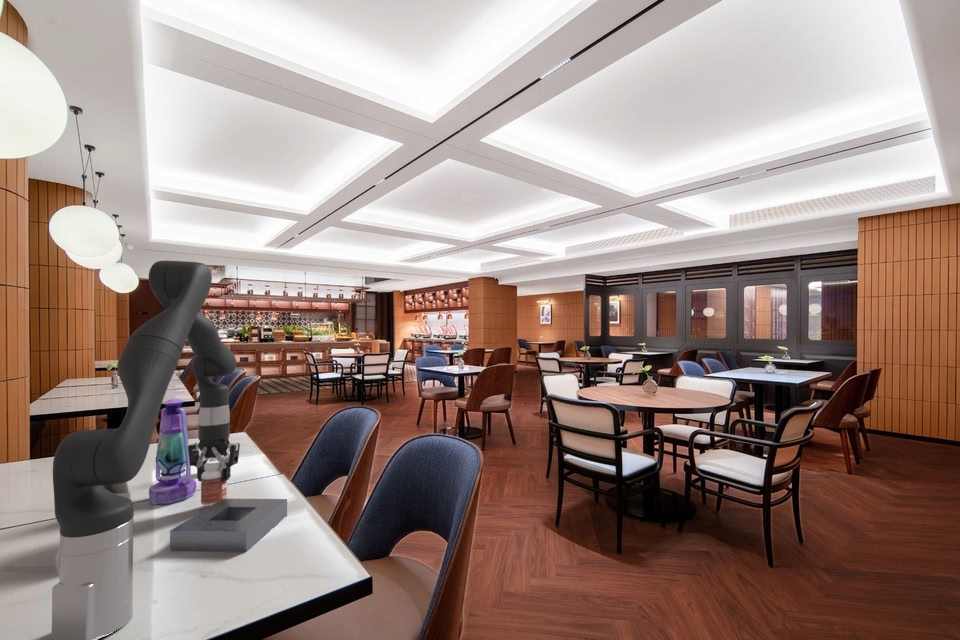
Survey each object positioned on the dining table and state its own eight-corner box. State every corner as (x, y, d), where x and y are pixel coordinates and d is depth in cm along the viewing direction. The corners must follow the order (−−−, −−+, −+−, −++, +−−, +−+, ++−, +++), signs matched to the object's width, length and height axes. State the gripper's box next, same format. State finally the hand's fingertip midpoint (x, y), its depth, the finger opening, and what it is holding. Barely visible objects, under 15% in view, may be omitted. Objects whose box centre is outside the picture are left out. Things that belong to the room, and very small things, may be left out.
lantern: (136, 503, 120) (137, 400, 121) (176, 488, 132) (176, 394, 132) (169, 508, 117) (170, 402, 117) (207, 493, 128) (208, 396, 128)
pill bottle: (227, 503, 116) (227, 463, 117) (200, 508, 113) (201, 467, 113) (226, 495, 122) (226, 458, 122) (201, 500, 118) (201, 462, 118)
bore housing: (246, 551, 93) (246, 531, 93) (169, 550, 94) (170, 530, 94) (287, 515, 111) (287, 499, 111) (222, 515, 112) (222, 498, 112)
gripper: (179, 424, 114) (179, 485, 114) (230, 424, 114) (229, 485, 113) (199, 418, 122) (199, 475, 121) (246, 418, 121) (246, 476, 121)
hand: (213, 480), depth 117 cm, fingers closed on pill bottle, 6 cm apart
